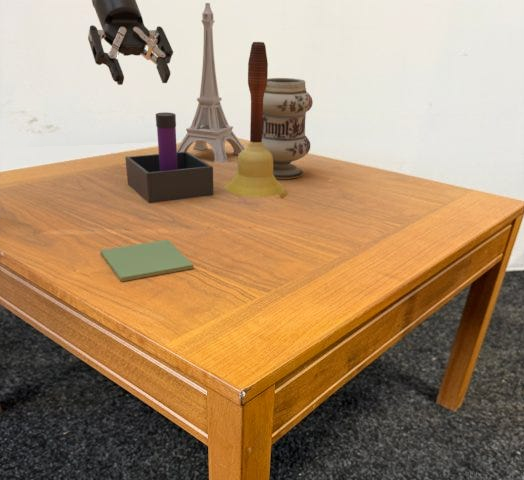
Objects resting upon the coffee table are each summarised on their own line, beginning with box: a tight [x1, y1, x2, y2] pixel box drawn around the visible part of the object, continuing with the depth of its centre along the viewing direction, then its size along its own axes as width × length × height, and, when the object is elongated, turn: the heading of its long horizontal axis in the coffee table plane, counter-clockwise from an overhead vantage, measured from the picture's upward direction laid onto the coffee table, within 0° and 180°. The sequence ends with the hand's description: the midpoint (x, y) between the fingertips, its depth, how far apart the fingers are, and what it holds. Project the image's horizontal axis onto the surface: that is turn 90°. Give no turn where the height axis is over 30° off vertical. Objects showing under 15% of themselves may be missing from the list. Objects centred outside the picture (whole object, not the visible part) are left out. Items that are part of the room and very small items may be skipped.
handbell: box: [224, 41, 287, 199], centre depth 98 cm, size 12×12×25 cm
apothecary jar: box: [262, 77, 314, 180], centre depth 112 cm, size 12×12×18 cm
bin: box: [124, 151, 214, 204], centre depth 101 cm, size 12×12×6 cm
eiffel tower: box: [177, 2, 246, 163], centre depth 119 cm, size 13×13×30 cm
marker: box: [155, 111, 178, 171], centre depth 98 cm, size 3×3×13 cm
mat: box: [99, 239, 194, 283], centre depth 76 cm, size 10×10×1 cm
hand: (144, 80), depth 98 cm, fingers open, 8 cm apart
